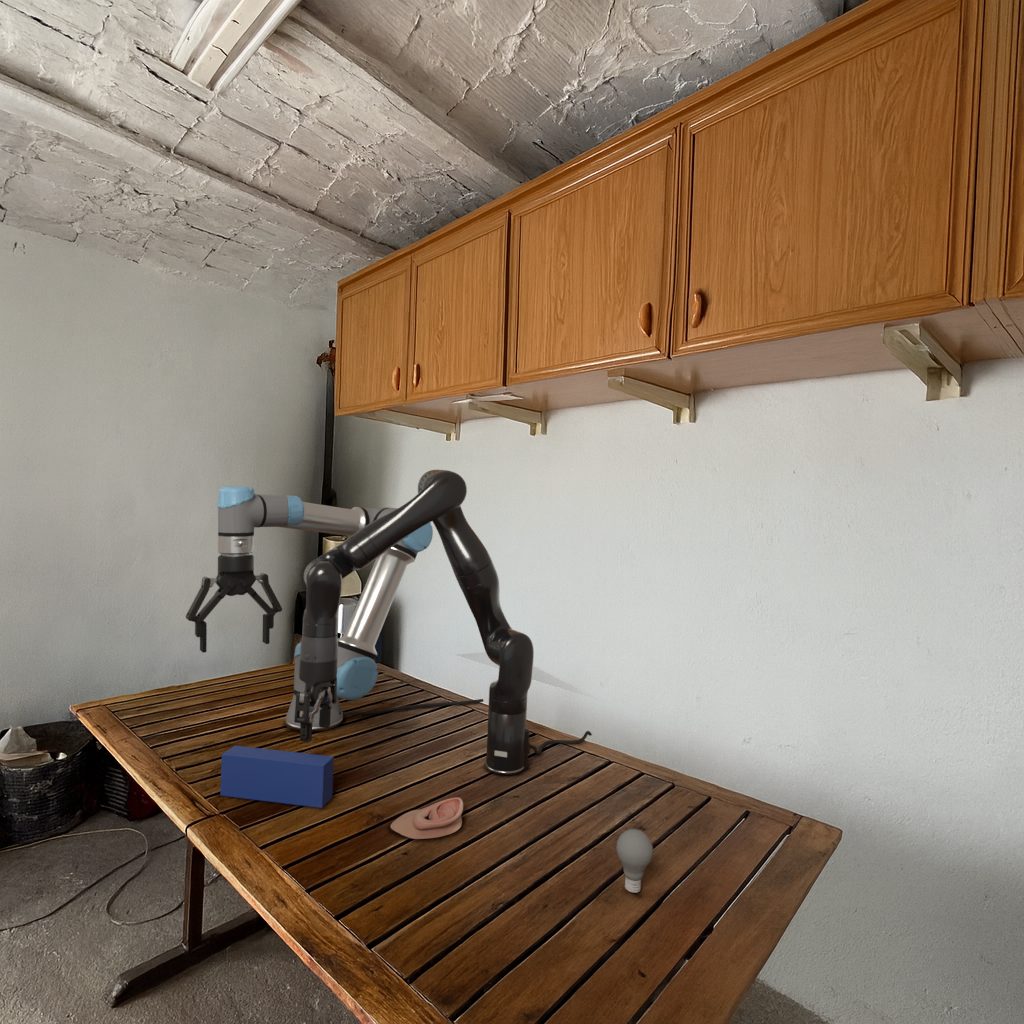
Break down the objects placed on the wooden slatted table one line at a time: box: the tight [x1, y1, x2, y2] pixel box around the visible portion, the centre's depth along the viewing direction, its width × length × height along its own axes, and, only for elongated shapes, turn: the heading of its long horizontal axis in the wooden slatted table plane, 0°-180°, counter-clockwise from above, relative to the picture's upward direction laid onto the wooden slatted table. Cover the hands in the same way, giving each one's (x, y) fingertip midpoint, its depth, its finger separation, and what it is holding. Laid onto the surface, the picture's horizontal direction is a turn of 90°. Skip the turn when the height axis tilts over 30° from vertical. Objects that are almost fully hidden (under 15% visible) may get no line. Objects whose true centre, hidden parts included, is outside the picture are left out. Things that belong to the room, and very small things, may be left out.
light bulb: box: [615, 828, 654, 894], centre depth 106 cm, size 6×6×10 cm
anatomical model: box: [390, 797, 464, 840], centre depth 124 cm, size 13×4×12 cm
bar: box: [219, 745, 335, 809], centre depth 133 cm, size 23×5×9 cm, turn 81°
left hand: (235, 646), depth 145 cm, fingers open, 13 cm apart
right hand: (315, 733), depth 132 cm, fingers open, 8 cm apart
